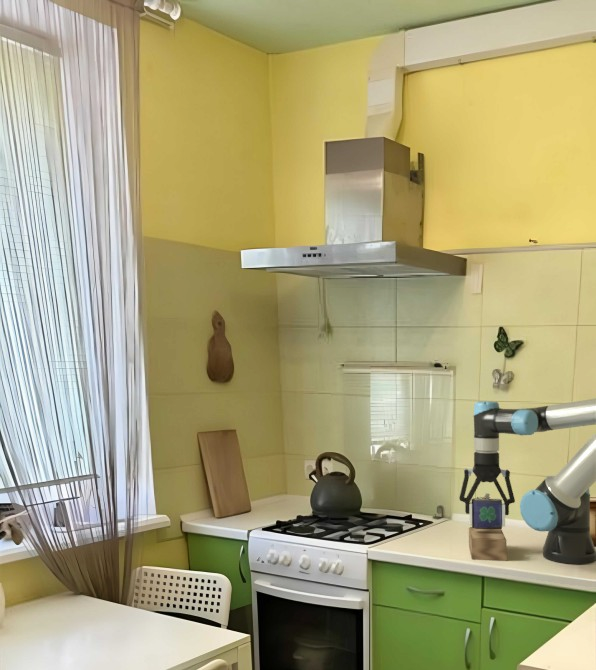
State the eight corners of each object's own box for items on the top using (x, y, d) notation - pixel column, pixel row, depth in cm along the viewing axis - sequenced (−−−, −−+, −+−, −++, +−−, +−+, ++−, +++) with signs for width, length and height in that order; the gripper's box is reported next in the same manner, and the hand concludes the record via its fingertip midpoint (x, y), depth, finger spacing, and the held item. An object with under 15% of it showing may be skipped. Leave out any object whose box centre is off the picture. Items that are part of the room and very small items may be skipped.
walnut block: (501, 548, 238) (501, 527, 238) (506, 560, 222) (506, 539, 222) (468, 546, 240) (468, 526, 240) (471, 559, 224) (471, 537, 224)
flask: (501, 527, 232) (500, 492, 233) (503, 529, 229) (503, 494, 230) (471, 527, 233) (470, 492, 233) (472, 529, 230) (472, 494, 230)
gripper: (521, 451, 234) (522, 524, 233) (450, 449, 238) (450, 521, 237) (524, 453, 227) (525, 529, 226) (450, 452, 230) (451, 526, 229)
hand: (487, 525), depth 231 cm, fingers closed on flask, 9 cm apart
